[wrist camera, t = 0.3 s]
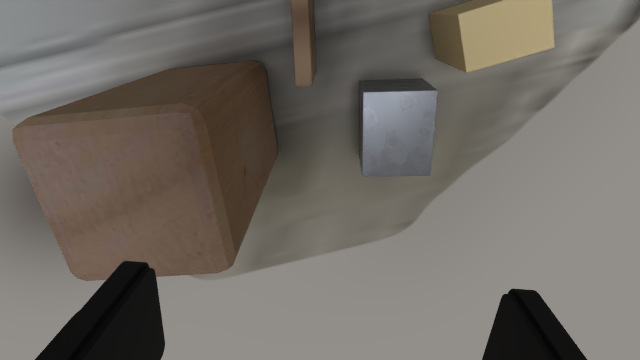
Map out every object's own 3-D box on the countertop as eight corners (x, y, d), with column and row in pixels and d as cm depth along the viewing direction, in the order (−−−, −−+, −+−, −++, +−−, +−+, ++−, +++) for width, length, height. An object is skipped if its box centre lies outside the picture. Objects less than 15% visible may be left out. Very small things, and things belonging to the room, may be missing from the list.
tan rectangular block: (428, 14, 34) (458, 14, 26) (497, -8, 33) (550, -15, 25) (436, 58, 35) (466, 72, 27) (502, 39, 35) (554, 47, 26)
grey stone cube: (359, 80, 37) (363, 92, 31) (422, 78, 36) (437, 90, 31) (358, 153, 40) (362, 176, 34) (416, 152, 39) (430, 175, 34)
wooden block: (280, 157, 40) (234, 279, 22) (188, 164, 41) (68, 289, 22) (265, 58, 36) (193, 105, 18) (163, 68, 37) (-6, 124, 18)
